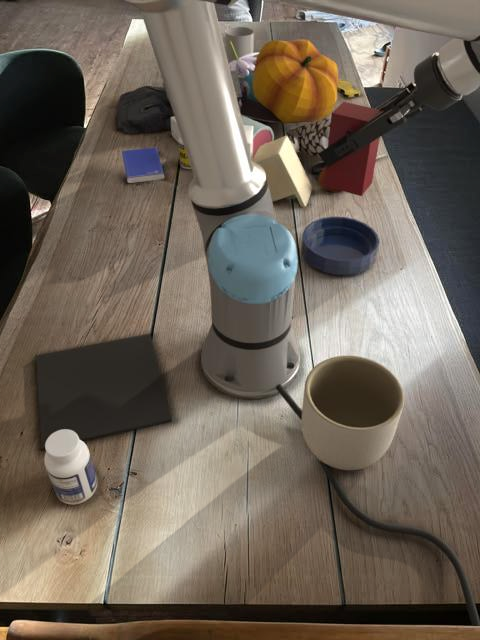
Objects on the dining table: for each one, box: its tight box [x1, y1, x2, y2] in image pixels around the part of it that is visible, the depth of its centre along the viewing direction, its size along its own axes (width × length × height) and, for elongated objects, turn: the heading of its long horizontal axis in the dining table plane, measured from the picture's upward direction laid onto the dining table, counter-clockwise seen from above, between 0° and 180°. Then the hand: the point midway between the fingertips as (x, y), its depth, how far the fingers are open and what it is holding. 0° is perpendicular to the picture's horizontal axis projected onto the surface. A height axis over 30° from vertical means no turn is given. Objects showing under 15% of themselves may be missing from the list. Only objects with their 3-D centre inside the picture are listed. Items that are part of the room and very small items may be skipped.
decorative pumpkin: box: [252, 39, 339, 125], centre depth 141 cm, size 20×22×15 cm
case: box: [323, 101, 382, 197], centre depth 101 cm, size 5×7×13 cm
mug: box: [241, 115, 275, 158], centre depth 138 cm, size 14×9×10 cm
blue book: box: [121, 147, 165, 184], centre depth 139 cm, size 2×8×12 cm
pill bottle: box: [43, 429, 98, 505], centre depth 76 cm, size 5×5×10 cm
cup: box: [224, 26, 255, 65], centre depth 181 cm, size 8×8×10 cm
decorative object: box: [238, 74, 285, 124], centre depth 156 cm, size 29×29×10 cm
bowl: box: [300, 216, 380, 276], centre depth 114 cm, size 14×14×4 cm
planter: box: [301, 355, 405, 471], centre depth 81 cm, size 12×12×11 cm
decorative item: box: [337, 78, 361, 98], centre depth 172 cm, size 11×1×5 cm
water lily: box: [229, 41, 260, 76], centre depth 156 cm, size 15×15×9 cm
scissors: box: [310, 153, 388, 178], centre depth 140 cm, size 7×1×20 cm
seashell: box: [285, 117, 331, 162], centre depth 141 cm, size 16×13×10 cm
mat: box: [35, 333, 173, 451], centre depth 91 cm, size 18×18×1 cm
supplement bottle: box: [178, 135, 192, 170], centre depth 138 cm, size 5×5×8 cm
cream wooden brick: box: [252, 135, 313, 208], centre depth 128 cm, size 8×7×13 cm
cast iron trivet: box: [116, 85, 174, 134], centre depth 158 cm, size 15×22×5 cm
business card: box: [230, 70, 242, 97], centre depth 142 cm, size 9×5×1 cm, turn 7°
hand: (330, 152), depth 103 cm, fingers closed on case, 5 cm apart
